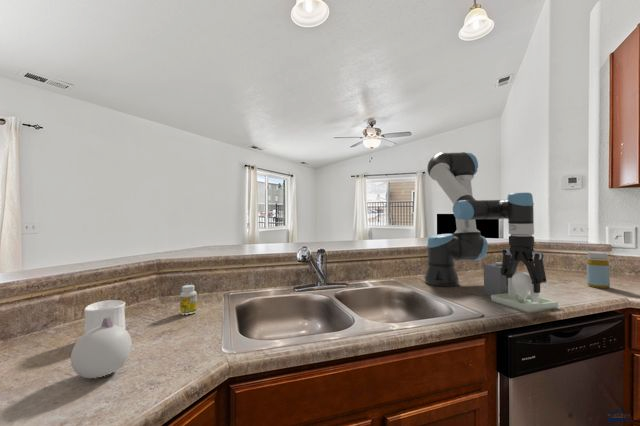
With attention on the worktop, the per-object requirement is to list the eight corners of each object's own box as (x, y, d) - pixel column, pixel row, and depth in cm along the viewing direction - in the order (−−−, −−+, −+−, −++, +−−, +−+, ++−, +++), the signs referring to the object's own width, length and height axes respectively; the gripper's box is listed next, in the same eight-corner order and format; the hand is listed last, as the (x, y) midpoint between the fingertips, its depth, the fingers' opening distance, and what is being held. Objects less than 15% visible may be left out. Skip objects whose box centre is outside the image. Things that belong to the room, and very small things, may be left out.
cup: (93, 350, 73) (93, 312, 73) (75, 342, 78) (75, 306, 78) (132, 336, 81) (132, 302, 81) (114, 330, 86) (114, 297, 86)
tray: (491, 300, 107) (490, 295, 107) (519, 297, 111) (519, 291, 111) (527, 312, 93) (526, 306, 93) (558, 308, 97) (558, 301, 97)
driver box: (483, 293, 118) (482, 261, 118) (498, 291, 120) (497, 260, 120) (501, 298, 110) (500, 265, 110) (517, 296, 112) (516, 263, 112)
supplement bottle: (200, 312, 101) (200, 285, 101) (186, 316, 96) (186, 288, 96) (190, 309, 103) (190, 283, 104) (177, 314, 99) (176, 286, 99)
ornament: (140, 360, 67) (139, 309, 67) (115, 385, 57) (115, 325, 57) (92, 364, 65) (91, 312, 66) (58, 391, 55) (57, 329, 55)
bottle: (613, 287, 122) (612, 252, 122) (604, 289, 120) (603, 253, 120) (592, 284, 129) (591, 251, 129) (583, 285, 126) (582, 252, 126)
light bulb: (536, 306, 99) (538, 275, 98) (515, 304, 100) (517, 274, 99) (526, 299, 105) (528, 270, 105) (506, 297, 107) (508, 269, 106)
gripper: (488, 234, 111) (490, 292, 111) (542, 237, 91) (544, 308, 91) (503, 233, 113) (505, 290, 113) (559, 236, 93) (561, 305, 93)
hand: (522, 298), depth 102 cm, fingers open, 8 cm apart
